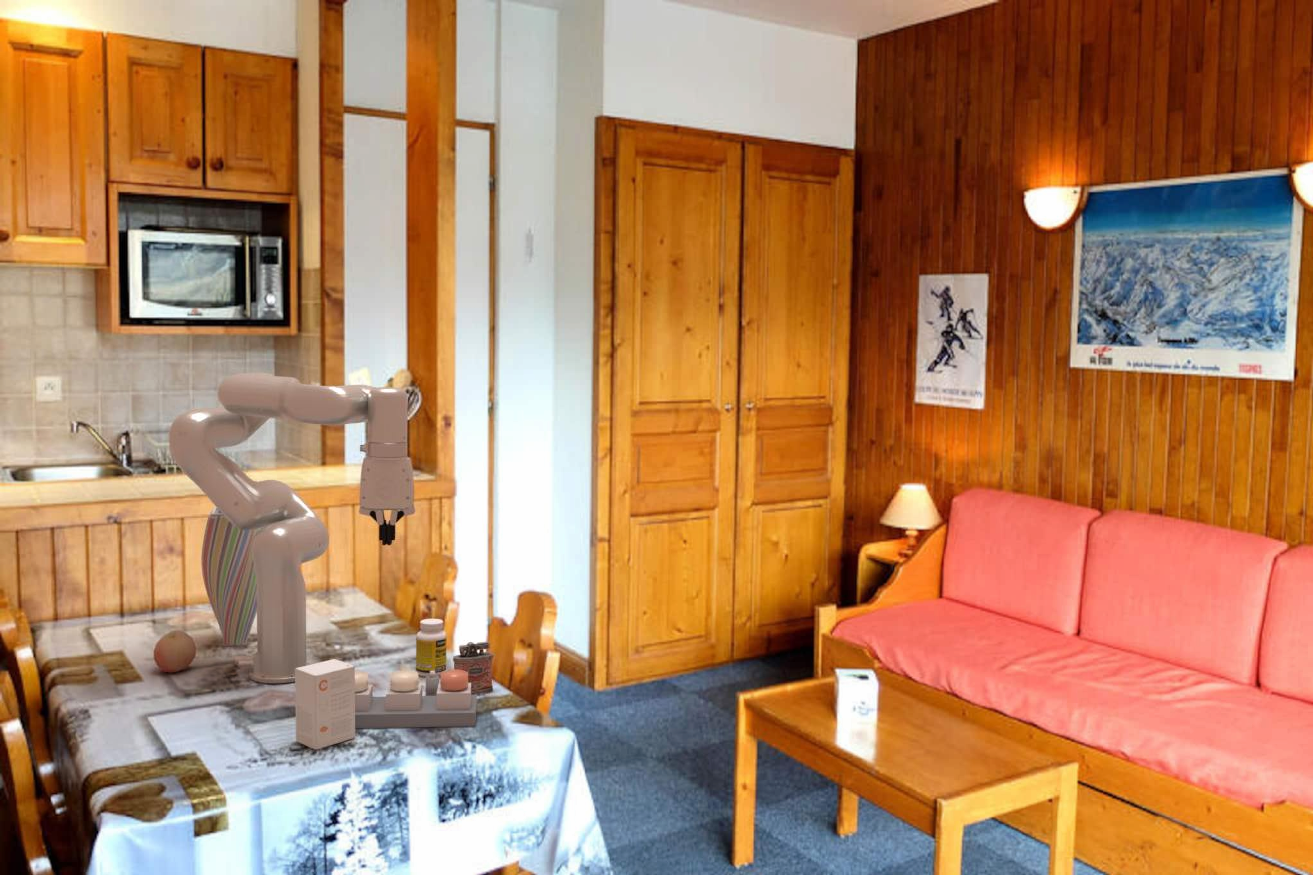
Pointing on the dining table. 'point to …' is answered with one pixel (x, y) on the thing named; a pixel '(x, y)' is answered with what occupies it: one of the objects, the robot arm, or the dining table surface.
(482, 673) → the lighter
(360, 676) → the knob near
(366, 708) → the mount board
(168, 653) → the fruit
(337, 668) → the small box
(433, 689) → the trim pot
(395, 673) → the knob mid
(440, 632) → the pill bottle
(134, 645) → the dining table surface
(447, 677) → the knob far
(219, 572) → the vase
